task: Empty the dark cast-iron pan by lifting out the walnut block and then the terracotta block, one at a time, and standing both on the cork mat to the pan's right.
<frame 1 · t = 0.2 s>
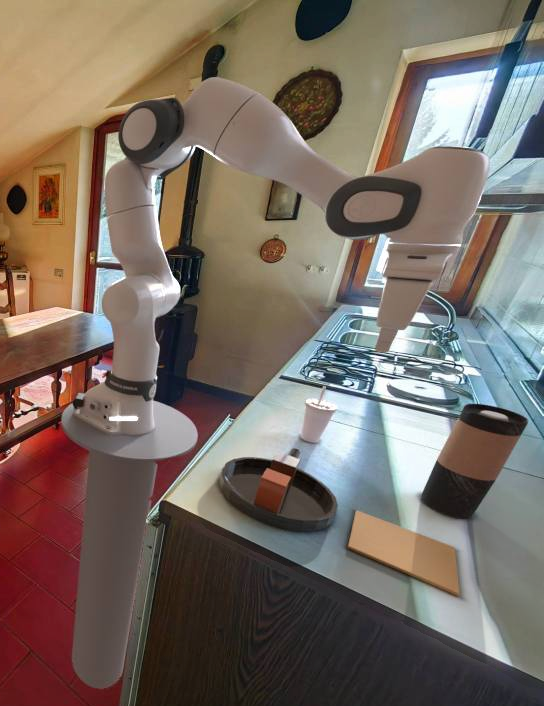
hand: (382, 345, 68), 30 cm above the counter, tool pointing down, fingers open, 8 cm apart
pan handle: (288, 466, 86), on the counter
walnut block: (278, 484, 79), resting on pan
mat: (400, 548, 64), on the counter
travel mug: (445, 506, 75), on the counter
terracotta block: (268, 503, 74), resting on pan
smoothie: (309, 439, 97), on the counter
pan: (272, 495, 76), on the counter
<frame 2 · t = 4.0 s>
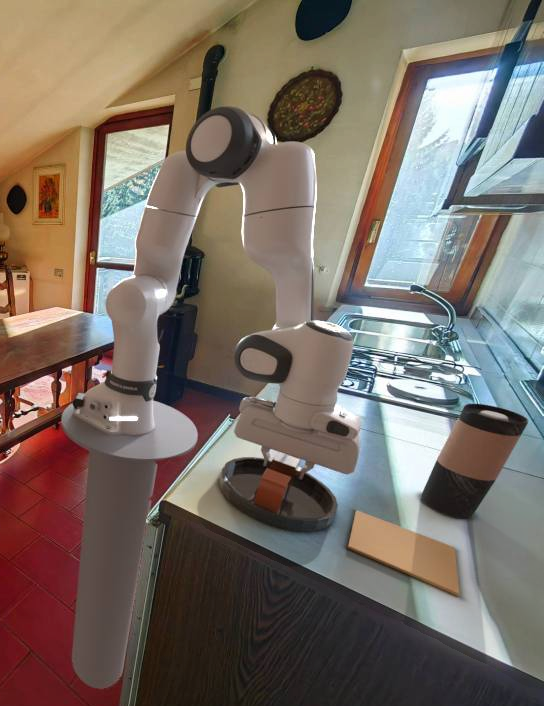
hand: (282, 471, 78), 4 cm above the counter, tool pointing down, fingers closed on walnut block, 4 cm apart
walnut block: (278, 484, 79), point 1 cm above the counter, touching gripper, pan
everything else where it was.
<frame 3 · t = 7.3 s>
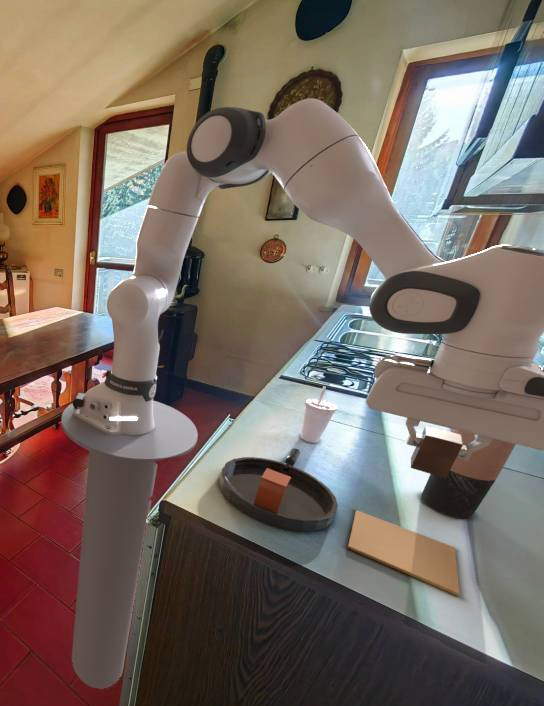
hand: (436, 451, 60), 17 cm above the counter, tool pointing down, fingers closed on walnut block, 4 cm apart
walnut block: (427, 467, 61), point 14 cm above the counter, touching gripper
everything else where it was.
when the fingers open (3 cm above the counter, at t = 10.5 s): walnut block stays where it is, resting on mat.
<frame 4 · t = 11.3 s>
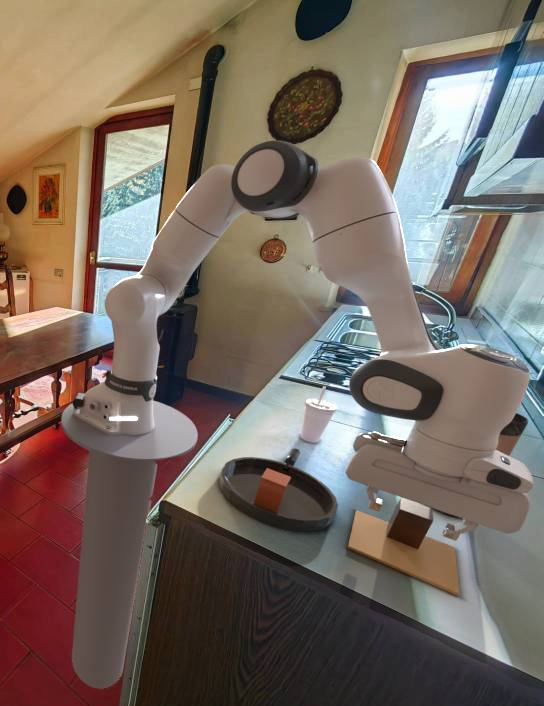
hand: (409, 522, 65), 4 cm above the counter, tool pointing down, fingers open, 8 cm apart
walnut block: (402, 536, 66), resting on mat
everything else where it was.
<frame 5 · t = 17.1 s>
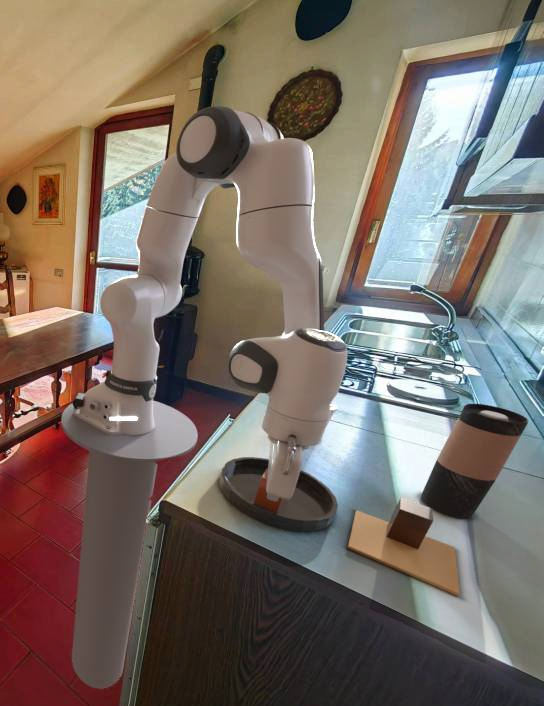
hand: (272, 489, 72), 4 cm above the counter, tool pointing down, fingers closed on terracotta block, 4 cm apart
terracotta block: (268, 503, 74), point 1 cm above the counter, touching gripper, pan
everything else where it was.
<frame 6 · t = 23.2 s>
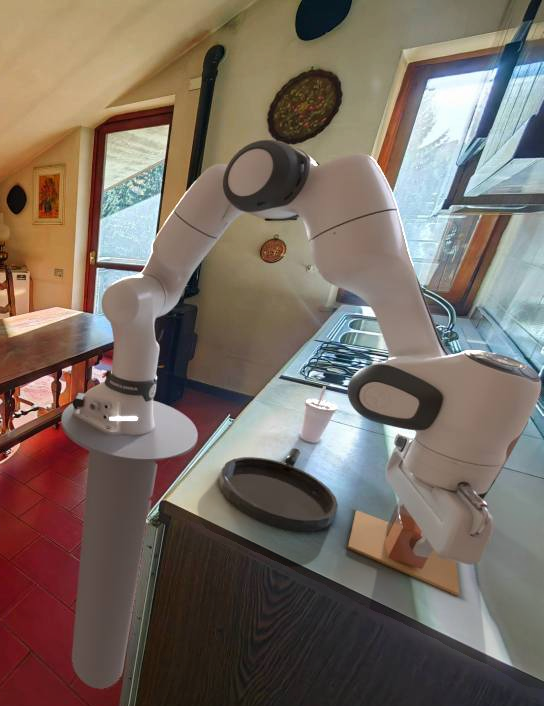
hand: (409, 539, 61), 4 cm above the counter, tool pointing down, fingers closed on terracotta block, 4 cm apart
terracotta block: (402, 554, 62), point 1 cm above the counter, touching gripper
everything else where it was.
when the fingers open (4 cm above the counter, at t = 24.8 s): terracotta block stays where it is, resting on mat.
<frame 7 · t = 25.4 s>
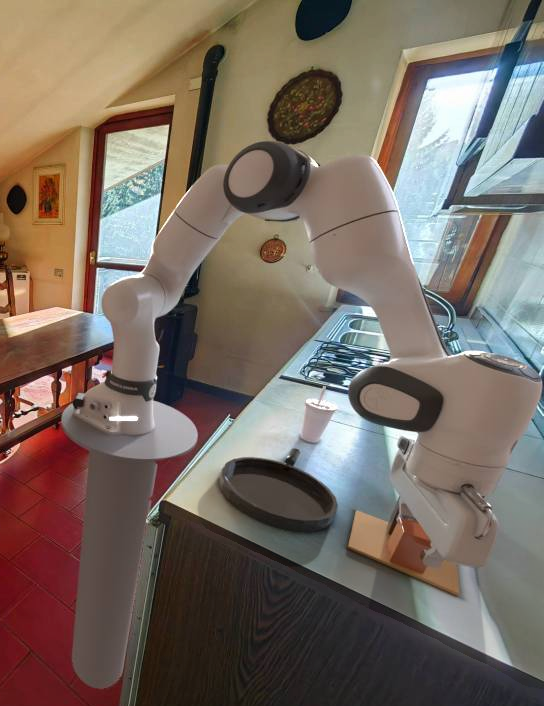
hand: (415, 543, 60), 4 cm above the counter, tool pointing down, fingers open, 7 cm apart
walnut block: (403, 535, 66), point 1 cm above the counter, tilted 10°, touching gripper, mat
terracotta block: (403, 559, 62), resting on mat
everything else where it was.
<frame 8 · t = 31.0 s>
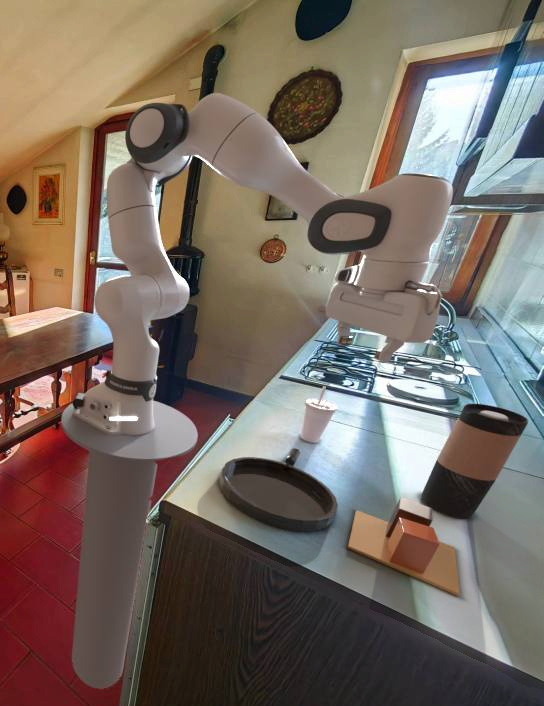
hand: (361, 352, 74), 27 cm above the counter, tool pointing down, fingers open, 8 cm apart
walnut block: (401, 536, 66), resting on mat
everything else where it was.
at the end: walnut block inside the target area on the mat (3.1 cm from its centre), point 0.5 cm above the mat's base; terracotta block inside the target area on the mat (3.3 cm from its centre), point 0.5 cm above the mat's base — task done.
